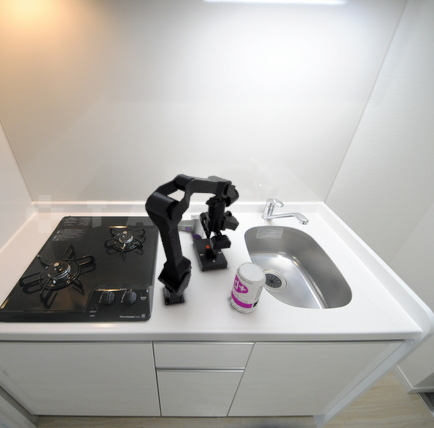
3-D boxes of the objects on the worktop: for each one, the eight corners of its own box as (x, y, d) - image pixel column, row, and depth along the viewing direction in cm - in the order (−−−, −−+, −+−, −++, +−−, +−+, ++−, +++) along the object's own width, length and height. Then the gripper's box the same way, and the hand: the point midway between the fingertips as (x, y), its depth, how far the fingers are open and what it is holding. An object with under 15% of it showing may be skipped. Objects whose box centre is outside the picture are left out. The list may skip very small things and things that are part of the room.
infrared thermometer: (172, 225, 104) (202, 225, 102) (169, 241, 94) (203, 242, 92) (171, 218, 101) (203, 218, 100) (168, 233, 91) (203, 234, 90)
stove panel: (226, 268, 80) (228, 262, 78) (201, 271, 79) (202, 265, 77) (214, 242, 92) (215, 236, 90) (192, 244, 91) (193, 239, 89)
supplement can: (238, 317, 64) (247, 286, 55) (225, 294, 70) (232, 263, 62) (261, 310, 66) (273, 279, 57) (246, 288, 72) (255, 258, 64)
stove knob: (215, 251, 83) (216, 244, 81) (217, 254, 82) (218, 247, 79) (204, 253, 82) (205, 245, 80) (205, 256, 81) (206, 248, 79)
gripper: (250, 226, 64) (241, 261, 73) (228, 197, 80) (223, 229, 88) (215, 230, 63) (211, 265, 72) (200, 199, 78) (197, 232, 87)
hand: (211, 246), depth 80 cm, fingers open, 9 cm apart
